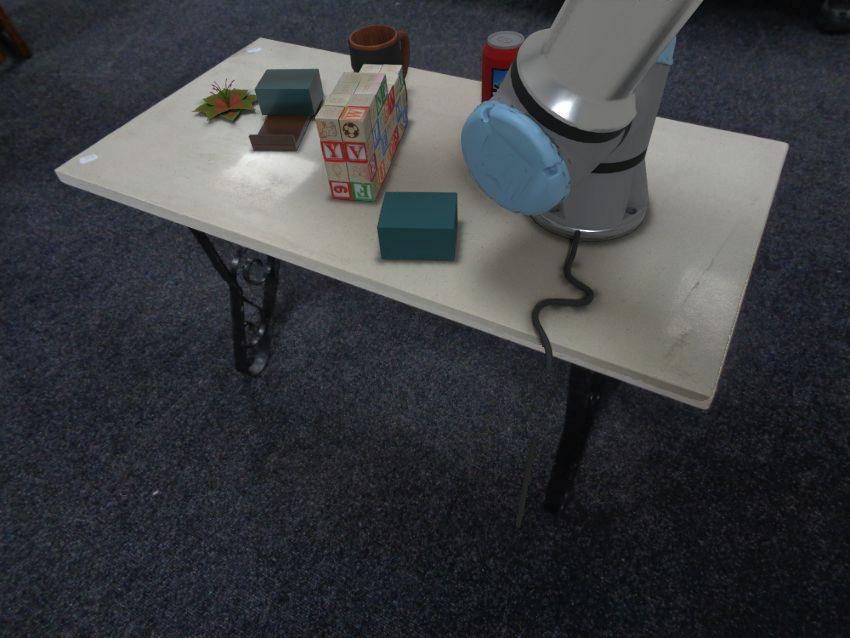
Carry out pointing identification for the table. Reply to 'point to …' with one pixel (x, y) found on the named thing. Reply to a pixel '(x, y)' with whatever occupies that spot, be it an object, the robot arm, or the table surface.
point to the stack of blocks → (362, 129)
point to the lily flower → (227, 102)
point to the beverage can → (498, 60)
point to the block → (418, 225)
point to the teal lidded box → (286, 107)
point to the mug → (379, 48)
